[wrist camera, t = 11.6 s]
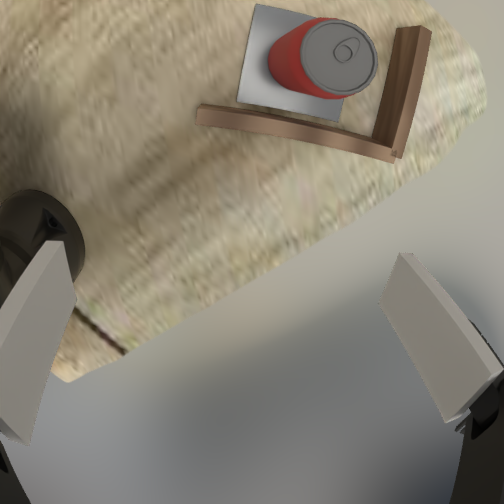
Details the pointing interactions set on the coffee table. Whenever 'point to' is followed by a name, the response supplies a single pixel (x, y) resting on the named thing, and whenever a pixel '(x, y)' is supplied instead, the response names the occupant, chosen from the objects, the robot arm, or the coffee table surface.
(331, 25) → the beer can
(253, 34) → the coaster
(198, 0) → the coffee table surface
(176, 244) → the coffee table surface
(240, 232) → the coffee table surface
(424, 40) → the wooden corner frame
